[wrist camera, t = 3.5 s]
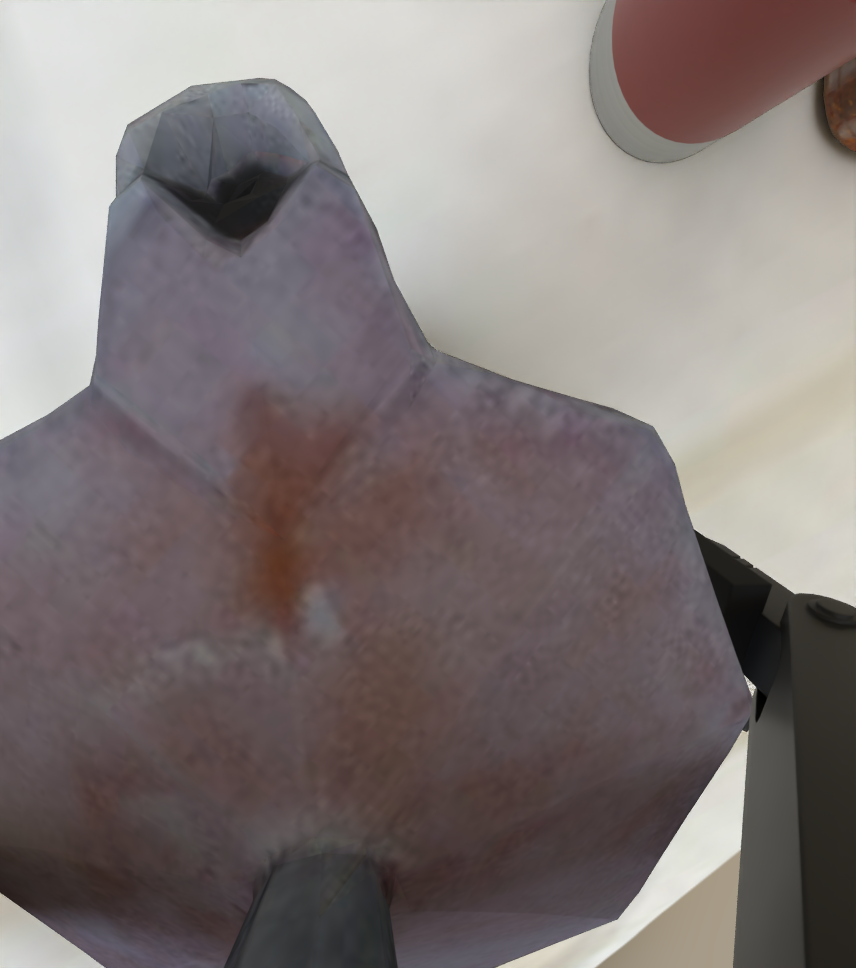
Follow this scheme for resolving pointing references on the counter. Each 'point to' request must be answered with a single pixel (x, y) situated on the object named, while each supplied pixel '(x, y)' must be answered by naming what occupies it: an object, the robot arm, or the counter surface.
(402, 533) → the moka pot
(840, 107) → the sauce bottle
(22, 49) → the counter surface
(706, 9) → the tin can
